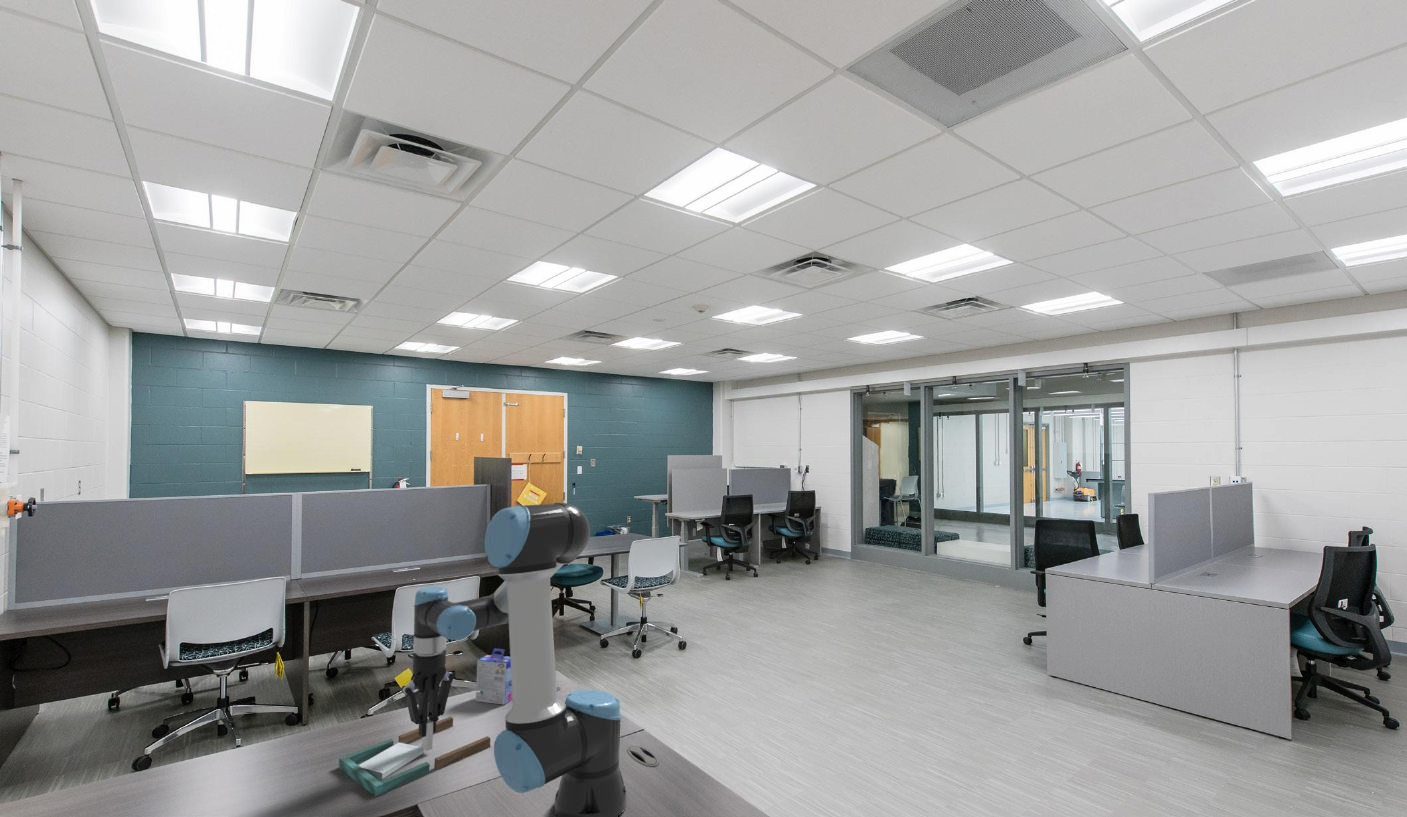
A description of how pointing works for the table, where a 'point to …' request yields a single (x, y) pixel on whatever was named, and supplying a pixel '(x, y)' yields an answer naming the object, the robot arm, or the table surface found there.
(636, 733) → the table surface
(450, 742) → the table surface
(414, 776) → the chute
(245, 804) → the table surface
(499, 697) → the ink cartridge box
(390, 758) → the hard drive
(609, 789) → the robot arm
